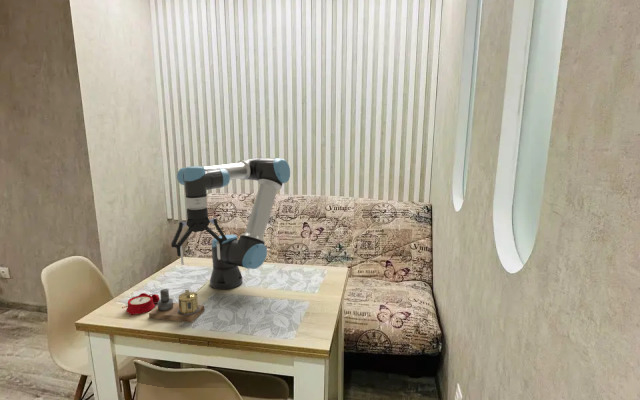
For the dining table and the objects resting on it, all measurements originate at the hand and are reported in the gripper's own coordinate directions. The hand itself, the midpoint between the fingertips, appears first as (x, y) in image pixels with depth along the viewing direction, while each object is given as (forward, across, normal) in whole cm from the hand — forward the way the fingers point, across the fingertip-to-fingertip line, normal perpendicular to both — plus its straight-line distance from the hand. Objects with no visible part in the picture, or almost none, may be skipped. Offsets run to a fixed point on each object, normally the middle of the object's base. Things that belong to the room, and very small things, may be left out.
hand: (201, 261), depth 143 cm
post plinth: (+22, -10, +3) cm, 24 cm away
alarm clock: (+22, -23, +15) cm, 35 cm away
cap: (+19, -6, 0) cm, 20 cm away
